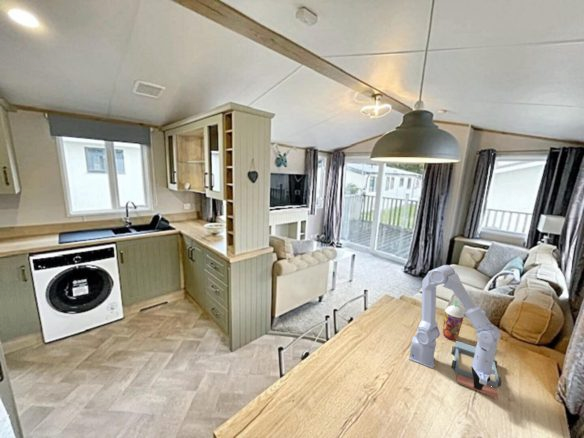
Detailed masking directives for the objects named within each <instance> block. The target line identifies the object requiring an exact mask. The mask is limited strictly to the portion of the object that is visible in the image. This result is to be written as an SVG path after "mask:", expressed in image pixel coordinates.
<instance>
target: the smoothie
mask: <svg viewBox="0 0 584 438" xmlns="http://www.w3.org/2000/svg"><path fill="white" fill-rule="evenodd" d="M443 316H444V317H443V326H442V334H443V337H444V336H445V337H444V338H446V339H447V338H448V340H450V341H457V340H458V338H459V335H460V331H461V328H462V324H463V321H464V317H465V313H464V312H463V310H462V308H461V307H459V306H458V300H455V304H451V305H449V306H447V307H446V308H445V309H444V315H443Z"/></svg>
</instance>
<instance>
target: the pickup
mask: <svg viewBox="0 0 584 438" xmlns="http://www.w3.org/2000/svg"><path fill="white" fill-rule="evenodd" d="M475 350H476V346H473V345H470V344H467V343H465V342H461V341H458V340H455V346H454V345H452V347H451V354H452V355H454V359H452V362H451V368H452V369H454V373H455V374H456V375H457V374H460V375H463V376H465V377H468V378H470V379H473V374H472V368H471V366H472V362H473V360H474V355H475ZM497 367H498V360H496V359H495V357H494V361H493V366H492V369H493V370H494V371H495V375H493V374H491V375H490V381H488V382H487V384H486V385H489V386H492V387H494V388H497V389H498V386H500V387H501V385H502V377H501V376H499V374H498V371H497ZM473 380H474V379H473Z"/></svg>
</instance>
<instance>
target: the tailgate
mask: <svg viewBox="0 0 584 438" xmlns="http://www.w3.org/2000/svg"><path fill="white" fill-rule="evenodd" d="M456 382H457V384H460V385H462V386H465V387H468V388H470V389H472V390H475V391H478V392H481V393H483V394H485V395H488V396H490V397H493V398H494V399H499V394H498V390H497V389H496V388H494V387H491V386H489V385H484V386H483V388H482V389H481V390H478V389H475V388H474V380H473V379H470V378H468V377H465V376H463V375H460V374H457V373H456Z"/></svg>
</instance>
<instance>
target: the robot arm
mask: <svg viewBox="0 0 584 438" xmlns="http://www.w3.org/2000/svg"><path fill="white" fill-rule="evenodd" d="M421 283H422V285H421V286H422V288H421V321H420V322H419V325H418V327H417V331H416V332H415V336H412V340H411V345H410V346H411V347H409V358H408V359H409V360H410V361H413V362H415V363H417V364H419V365H420V364H421V365H424V366H426V367H428V368H431V369H434V365H435V364H434V363H435V352H436V347H437V346H436V344H437V340H436V339H439V337H440V334H441V332H440V329H439V323H437V322H436V312H437V311H436V310H437V307H436V306H437V305H436V303H437V286H439V285H440V286H441V285H442V287H443V288H446V289H449V290H451V291H452V292H453V294H454V295H456V297H457V299H458V301H460V303H461V304H462V306H463V307H464V308H465V310H464V315H466V318H467V319H468V320H469V322H470V324H471V325H472V326H473V328H474V330H475V331H476V339H477V342H476V346H475V347H476V350H475V355H474V360H473V362H472V366H471V368H472V374H473V379H474V388H475V389H478V390H481V389H482V388H483V386H484V385H486V384H487V382H488V381H490V375H491V374H493V375H495V371H494V370H493V369H492V366H493V361H494V358H495V356H496V352H497V345H498V341H499V340H500V339H501V336H502V335H501V334H502V333H501V331H500V329H499V327H497V326H496V325H494V324H493V323H491V321H490V320H489V318H488V316H487V315H486V314H487V312H486V310H484V309H482V307H480V306H478V305H475V303H474V302H473V300H472V298H471V296H470V295H469V293H468V291H467V290H466V288H465V286H464V285H463V282H462V281H461V279H460V276H459V275H458V273H457V272H456V270H455V269H454V268H453V267H452V266H451V265H449V264H443V265H441V266H438V267H436V268H433V269H431V270H429V271H427V273H426V276H424V278H423V280H422V281H421ZM475 389H474V390H475Z"/></svg>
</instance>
